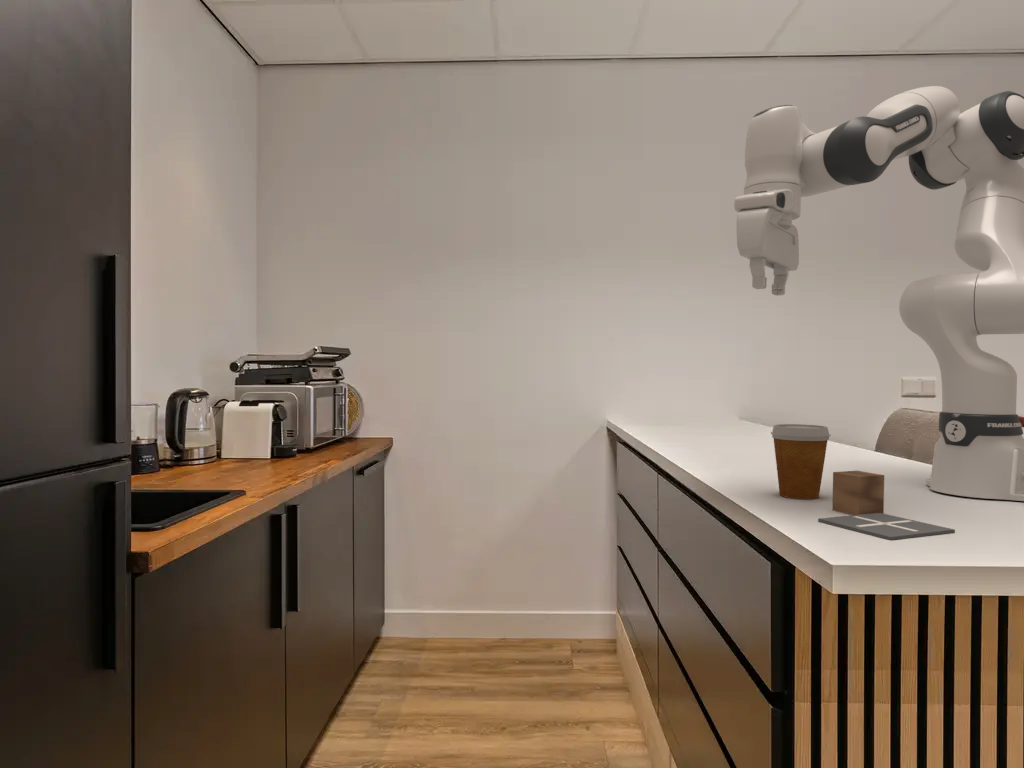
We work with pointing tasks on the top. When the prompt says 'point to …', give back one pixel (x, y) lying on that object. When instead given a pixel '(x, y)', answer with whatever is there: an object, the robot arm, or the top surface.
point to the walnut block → (858, 492)
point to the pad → (886, 526)
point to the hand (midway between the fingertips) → (769, 292)
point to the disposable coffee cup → (800, 459)
